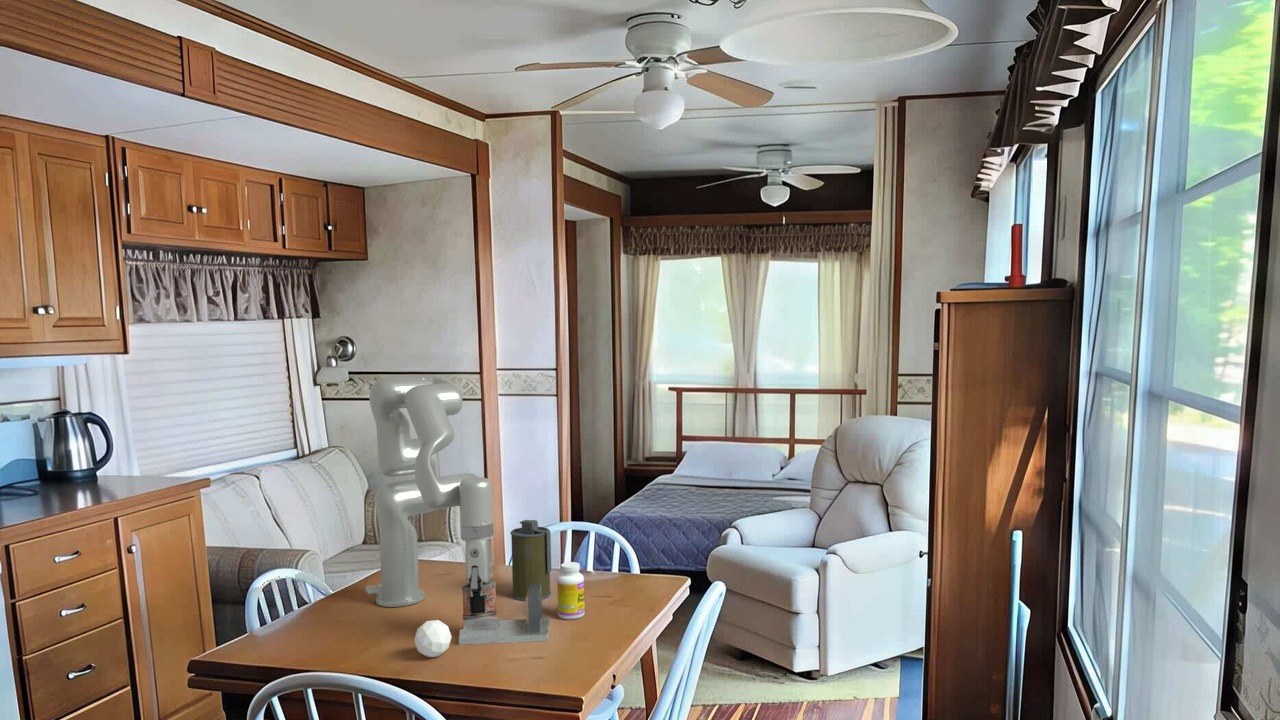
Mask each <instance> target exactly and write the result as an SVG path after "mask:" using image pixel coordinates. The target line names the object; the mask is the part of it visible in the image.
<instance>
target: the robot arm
mask: <svg viewBox="0 0 1280 720" xmlns="http://www.w3.org/2000/svg"><path fill="white" fill-rule="evenodd" d="M369 391H370V392H369V405H370V410H371V413H372V416H373V420H374V422H375V427H376V442H377V443H376V444H377V458H378V459H377V460H378V466H379V468H378V469H379V471H380V473H381V474H382V475H383V476H384V477H388V478H395V477H402V476H410V475H414V479H413V478H411V479H405V480H400V481H399V480H398V481H393V482H388V483H385V484H383V485H381V486H380V487H378V488H377V490H376V492H375V494H374V505H375V510H376V515H377V516H376V517H377V521H378V527H379V529H378V531H379V548H380V550H379V551H380V552H379V553H380V581H381V583H378V584H377V585H372V584H371V585H368V584H367V585H365V593H366V594H367V595H377V596H376V597H375V603H376V604H377V606H381V607H387V608H398V607H399V608H400V607H407V606H411V605H416V604H418V603H420V602H422V601H423V600H425V597H426V594H425V593H426V592H424V591H423V589H422V590H421V589H420V586H419V560H418V559H419V557H418V556H419V555H418V552H419V551H418V533H417V530H416V528H415V526H414V525H413V524H412V523H411V521H410V520H409V517H412V516H416V515H422V514H426V513H427V514H428V513H430V512H434V511H438V510H444V509H450V508H455V507H459V524H460V526H459V527H460V539H461V541H463V542H465V575H466V583H467V582H468V583H469V584H470V583H471V596H470V603H471V613H472V614H474V613H484V612H485V595H483V582H485V583H488V582H489V581H491V579H492V578H491V572H492V573H493V571H494V570H493V557H492V544H491V539H493V538H494V510H493V507H494V506H493V485H492V481H491V480H490V479H489V478H486V477H480V476H478V475H476V474H474V473H471V472H466V473H459V474H450V475H443V476H441V468H440V466H441V463H440V454H439V452H441V451H442V450H444V449H446V448H447V447H448V446H450V444H451V443H452V442H453V441H454V439H455V431H454V429H453V426H452V424H451V422H450V419H449V417H448V416H454V415H457V414H459V413H460V412H461V410H462V408H463V396H462V393H461V391H460V389H459V388H458V387H457V386H456V385H455V384H454V383H452V382H450V381H448V380H446V379H443V378H441V377H438V376H435V375H432V374H418V375H417V374H415V375H397V376H396V375H395V376H388V377H383V378H380V379H378V380H376V381H374V383H373V384H372V385H371V387H370V390H369ZM401 409H406V411H407V412H408V415H409V418H410V421H411V423H412V426H413V428H414V431H415V433H416V436H417V437H416V438H411V431H410V430H411V427H410V422H409V419H408V418H407V416H406V415H405V413H403V411H401ZM470 577H471V578H470ZM478 580H481V582H478ZM478 585H480V587H478Z"/></svg>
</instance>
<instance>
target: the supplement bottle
mask: <svg viewBox="0 0 1280 720" xmlns="http://www.w3.org/2000/svg"><path fill="white" fill-rule="evenodd" d="M580 569H581V565H580V563H579V562H576V561H575V562H574V561H570V562H564V563H561V565H560V571H561V573H560V574H559V575H558V576H557V580H556V583H557V584H556V585H557V586H556V587H557V588H556V589H557V615H558V616H557V617H559V618H560V619H562V620H570V621H571V620H577V619H581V618H582V617H584V616H585V613H586V612H585V611H586V609H585V607H586V605H585V604H586V603H585V577H584V575H583V574H582V573H580Z"/></svg>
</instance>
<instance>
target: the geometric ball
mask: <svg viewBox="0 0 1280 720" xmlns="http://www.w3.org/2000/svg"><path fill="white" fill-rule="evenodd" d="M452 638H453V637H452V633H451V631H450V629H449V626H448V625H447V624H445V623H444V622H442V621H440V620H439V619H436V620H434V619H433V620H426V621H425V622H424V623H423V624H422V625H421V626H419V627H418V628H417V629H416V632H415V637H414V643H415V646H416V649H417V652H418V653H420V654H422V656H423V655H424V656H425V657H426V658H437V657H440V656H441V655H442V654H444V652H446V651H447V650H448V649H450V648H449V647H450V644H451V640H452Z"/></svg>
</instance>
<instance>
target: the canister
mask: <svg viewBox="0 0 1280 720" xmlns="http://www.w3.org/2000/svg"><path fill="white" fill-rule="evenodd" d="M519 524H521V527H517V528H514V529H512V530H511V531H510V534H509V535H511V570H512V571H511V573H512V575H511V576H512V579H511V580H512V594H511V597H512V598H513V599H515V600H517V601H524V602H526V595H527V591H528V589H530V585H531V584H536V583H541V591H542V600H544V599H547V598H548V597H550V596H551V595H552V590H551V579H550V577H551V576H550V575H551V574H550V573H551V572H552V545H551V543H552V538H551V536H552V535H551V530H550V529H549V528H548V527H545V526H539V524H538V520H537V519H531V520H530V519H524V520H522V521H519Z"/></svg>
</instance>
